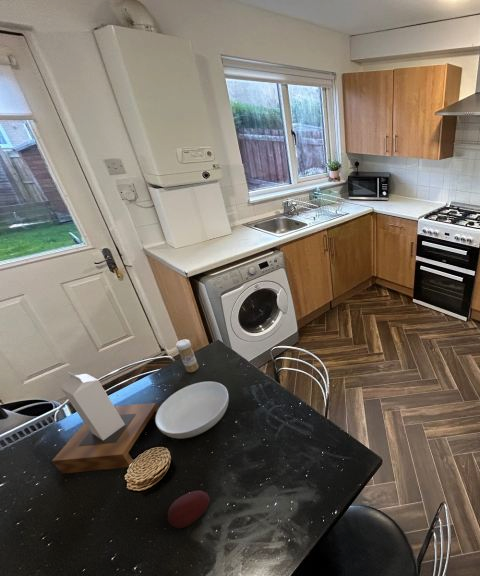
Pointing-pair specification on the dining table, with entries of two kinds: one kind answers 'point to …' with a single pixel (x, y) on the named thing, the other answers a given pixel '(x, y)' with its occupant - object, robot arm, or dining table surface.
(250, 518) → the dining table surface
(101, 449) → the wooden serving tray
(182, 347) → the sprinkles bottle
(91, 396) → the milk
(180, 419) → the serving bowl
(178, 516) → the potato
